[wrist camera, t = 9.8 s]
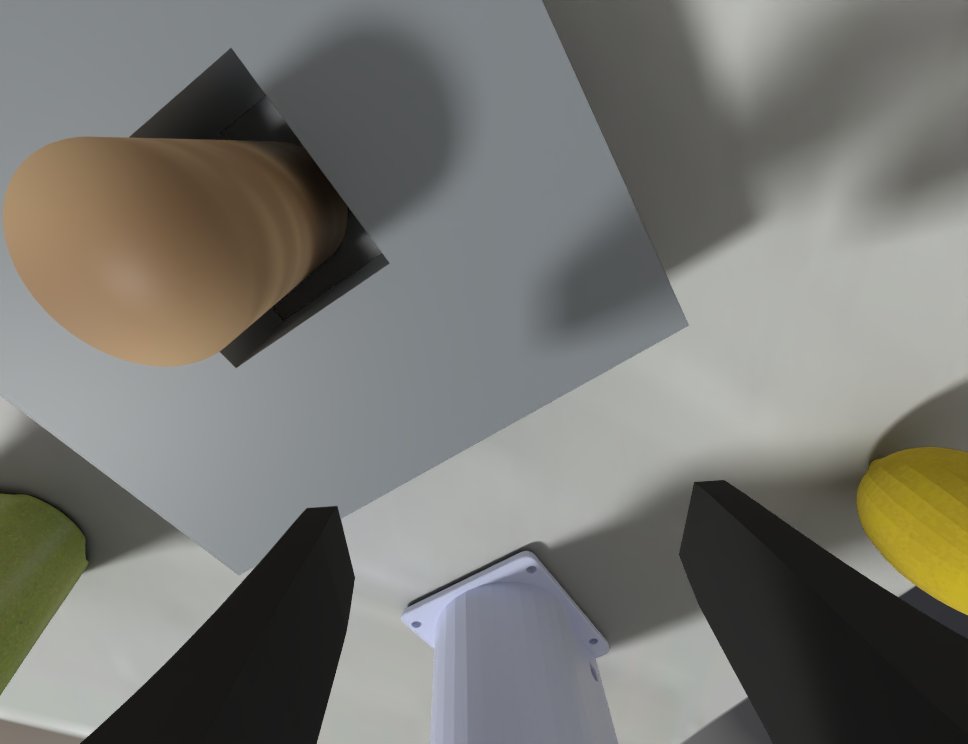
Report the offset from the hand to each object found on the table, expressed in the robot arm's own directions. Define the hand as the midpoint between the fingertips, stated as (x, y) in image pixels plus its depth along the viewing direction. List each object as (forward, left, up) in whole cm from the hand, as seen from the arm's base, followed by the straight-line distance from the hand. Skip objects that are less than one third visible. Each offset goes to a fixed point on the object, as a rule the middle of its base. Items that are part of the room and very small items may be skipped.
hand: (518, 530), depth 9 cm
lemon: (-15, -12, -10) cm, 21 cm away
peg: (+8, +3, -9) cm, 13 cm away
